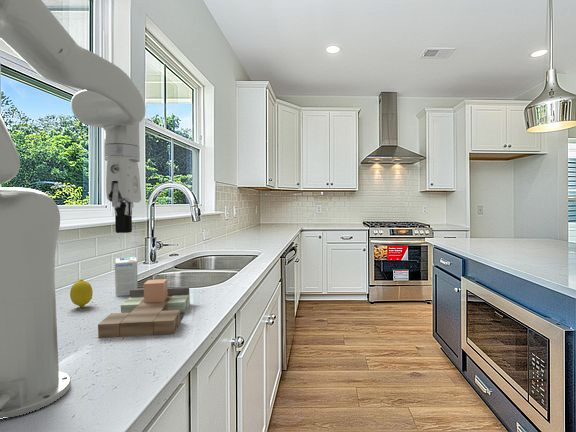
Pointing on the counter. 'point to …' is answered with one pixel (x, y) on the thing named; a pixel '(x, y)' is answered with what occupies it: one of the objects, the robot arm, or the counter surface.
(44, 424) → the counter surface
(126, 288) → the light bulb box
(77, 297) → the lemon
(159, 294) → the block
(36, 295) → the robot arm
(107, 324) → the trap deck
